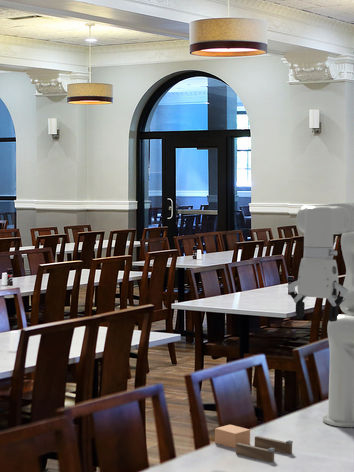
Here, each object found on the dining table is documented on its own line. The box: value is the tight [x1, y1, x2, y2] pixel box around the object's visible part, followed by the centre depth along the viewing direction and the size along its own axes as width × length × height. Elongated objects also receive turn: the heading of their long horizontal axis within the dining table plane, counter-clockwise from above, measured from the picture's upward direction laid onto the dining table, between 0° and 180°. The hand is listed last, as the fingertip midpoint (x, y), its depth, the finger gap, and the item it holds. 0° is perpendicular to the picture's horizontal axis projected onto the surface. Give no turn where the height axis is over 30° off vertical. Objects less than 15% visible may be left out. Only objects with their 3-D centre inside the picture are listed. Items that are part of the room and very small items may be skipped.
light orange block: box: [214, 424, 251, 449], centre depth 226 cm, size 6×7×4 cm
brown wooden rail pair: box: [235, 435, 294, 463], centre depth 217 cm, size 10×10×3 cm
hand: (316, 319), depth 224 cm, fingers open, 9 cm apart
